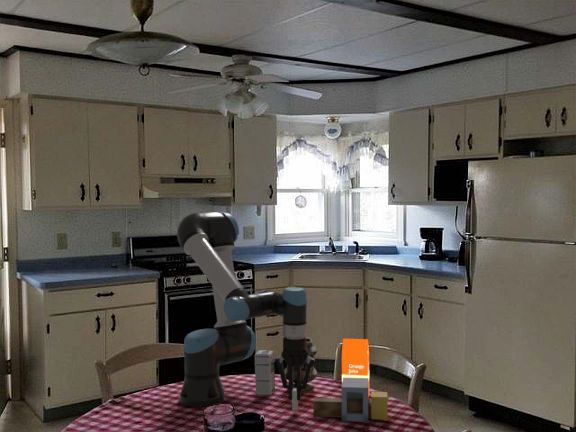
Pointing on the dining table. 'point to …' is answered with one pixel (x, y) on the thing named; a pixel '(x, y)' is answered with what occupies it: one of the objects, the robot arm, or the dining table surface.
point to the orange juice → (355, 359)
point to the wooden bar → (338, 407)
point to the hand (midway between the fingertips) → (295, 409)
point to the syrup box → (264, 372)
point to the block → (379, 405)
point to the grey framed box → (355, 390)
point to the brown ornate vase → (313, 373)
